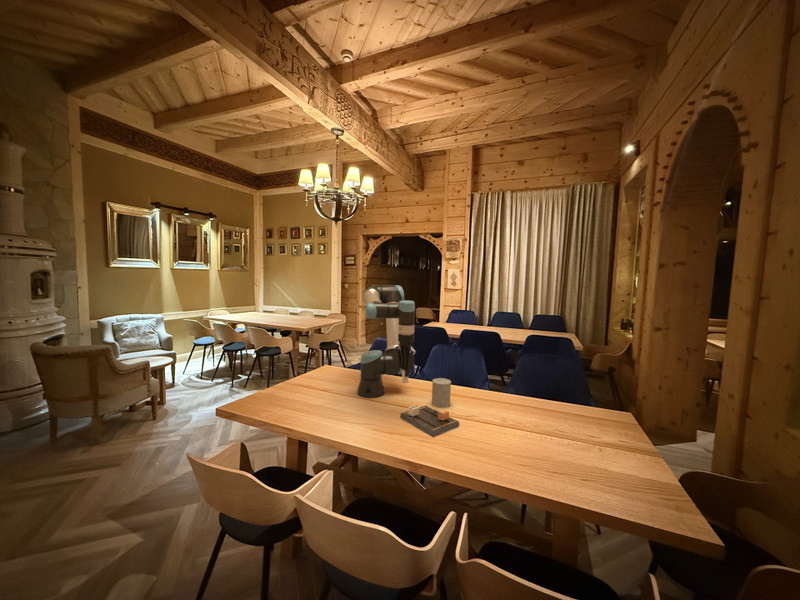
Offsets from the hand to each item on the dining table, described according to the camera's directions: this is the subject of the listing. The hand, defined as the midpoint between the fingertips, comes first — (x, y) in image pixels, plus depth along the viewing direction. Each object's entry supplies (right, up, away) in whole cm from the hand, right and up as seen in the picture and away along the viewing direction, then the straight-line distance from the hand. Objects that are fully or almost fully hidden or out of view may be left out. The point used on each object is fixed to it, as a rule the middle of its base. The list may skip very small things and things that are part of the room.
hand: (405, 382), depth 152 cm
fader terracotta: (+17, -14, -8) cm, 23 cm away
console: (+11, -16, -6) cm, 20 cm away
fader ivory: (+4, -13, -4) cm, 15 cm away
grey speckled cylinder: (+19, -15, +14) cm, 28 cm away
